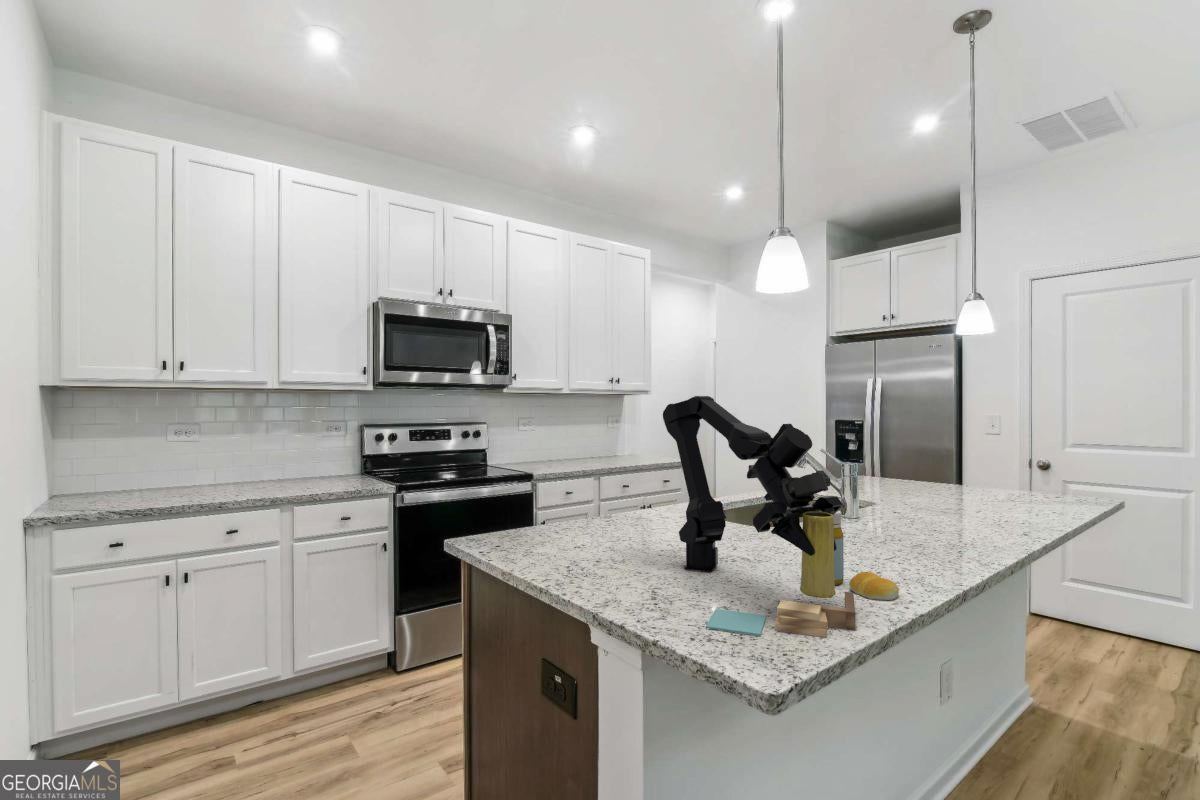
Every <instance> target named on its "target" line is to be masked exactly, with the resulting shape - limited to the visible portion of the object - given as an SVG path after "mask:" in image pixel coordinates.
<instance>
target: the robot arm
mask: <svg viewBox="0 0 1200 800" xmlns="http://www.w3.org/2000/svg"><path fill="white" fill-rule="evenodd" d="M662 419H663V423H664V426H665V428H666V431H667V433H668V434H669V435H670V436H671V437H672V438H673V439H674V440H675V443H676V446H677V451H678V454H679V459H680V463H681V464H680V465H681V469H682V473H683V476H684V477H683V478H684V480H685V486H686V490H687V495H688V504H687V507H686V511H685V517H686V521H685V522H684V524H683V526H682V527H681V529H680V530H679V531H678V536H679V541H680V542H681V543H682V542H683V543H684V544H685V566H684V567H683V569H684V570H687V571H698V572H708V573H713V572H714V570H715V568H717V566H718V564H719V548H718V547H717V546H716V542H721V541H722V538H723V535H724V531H725V529H726V525H727V523H726V519H727V516H726V514H725V512H724V506H723V503H722V501H721V500H715V498H713V496H712V495H711V491H710V486H709V483H708V479H707V476H706V470H705V466H704V462H703V461H704V460H703V458H702V454H701V450H700V445H699V441H698V433H699V430H700V427H701V420H704V422H706V423H707V424H708V425H710V426H711V427H712V428H713V429H714V430H716V431H717V432H718V433H719V434H721V435H722V436H723V437H724V438H725V439H726V440H727V443H728V448H729V449H730V450H731V452H733V454H734V455H735V456H736V457H737V458H738V459H739V460H741V461H749V460H752V461H753V460H756V461H755V462H754V463H753V464H750V465H748V471H747V472H746V478H747V480H748V479H757V480H758V481H759V483H760V484H761V486H762V488H763V489H764V490H765V492H766V494H765V495H764V496H763V497H764V499H765V501H766V502H767V503H764V504H763V505H762V507H761V508H760V509H759V510H758V511H757V512H756V513H755V514H754V516H753V517H752V525H753V527H754V528H755V530H756V531H757V533H758V534H759V533H765V532H769V531H770V533H771V534H772V535H776V536H778V537H780V538H782V539H783V540H785V541H786V542H788V543H790V544H792V545H793V546H795V547H796V548H797V549H799V550H801V552H802V551H804V552H805V553H807V554H808V555H810V556H812V555H813V554H815V551H814V549H813V547H812V545H811V543H810V541H809V540H808V538H807V536H806V534H805V533H804V531H803V527H802V525H801V523H800V518H803V513H804V512H809V511H817V512H826V513H830V514H832V515H834V514H835V513H836V512H837V511H840V509H841V508H842V507H843V506H844V505H843V503H842V501H841V500H840V498H839V497H838V496H835V495H825V496H819V497H818V498H817V499H816V500H815V502H813V500H814V499H815V498H816V496H815V495H817V494H819V493H821V492H827V491H829V487H830V486H831V478H830V477H829V475H828V474H827V473H826V472H825V471H824V470H816V471H815V472H811V473H809V474H806V475H802V476H800V477H797V476H796V477H795V476H794V477H793V476H792V475H791V474H790V472H789V471H788V469H792V468H795V467H796V465H797V464H799V462H800V461H801V460H802V459H803V457H805V455H806V454H807V453H808V452H809V451H810V450H811V449H812V447H813V441H812V438H810V436H809V435H808V434H807V433H805V432H804V431H802V430H801V429H799V428H796V427H794V426H793V424H792V423H783V424H781V425H780V427H779V429H778V431H777V432H776V434H775V435H774V436H773V437H772V436H771V434H769V433H768V432H767V431H765V430H762V429H761V428H759V427H756V426H754V425H749V424H746V423H745V422H742V421H741V420H740V419H738V418H737V417H735V415H733V414H732V413H731V412H729V410H726V408H724V407H723V406H722V405H720V404H719V403H718V402H716V401H715V399H714V398H713V397H711V396H710V395H694V396H693V397H690V398H688V399H686V400H683V401H679V402H676V403H668V404H667V405H666V407H665V409H663V411H662ZM787 468H788V469H787ZM769 501H772V502H769ZM810 502H813V503H812V504H810ZM770 522H772V525H771V523H770ZM772 526H773V528H772V530H771V527H772ZM836 549H837V547H836V543H835V540H834V551H835V550H836Z"/></svg>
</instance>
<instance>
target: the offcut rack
mask: <svg viewBox="0 0 1200 800" xmlns="http://www.w3.org/2000/svg"><path fill="white" fill-rule="evenodd" d="M776 615H777V616H776V619H775V621H774V631H777V632H784V633H789V634H790V633H792V634H796V635H797V634H798V635H806V636H810V637H811V636H812V637H819V638H827V630H828V628H835V629H844V630H850V631H856V605H855V594H854V592H853V591H851V592H850V591H844V607H839V606H838V607H836V606H830V605H829V606H827V605H821V604H812V603H807V602H805V603H804V602H798V601H790V600H784V599H781V600H778V601H777V607H776Z"/></svg>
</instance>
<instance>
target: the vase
mask: <svg viewBox="0 0 1200 800" xmlns="http://www.w3.org/2000/svg"><path fill="white" fill-rule="evenodd" d="M802 529H803V531H804V533H805V534H806V536H807V538H808V540H809V541H810V543H811V545H812V547H813V549H814V551H815V554H813V555H812V556H810V555H808V554H807V553H805V552H804V551H802V550H801V573H800V574H801V578H800V586H799V591H800V593H802V594H803V595H805V596H808V597H813V598H819V599H820V598H821V599H827V598H833V597H834V596H836V594H837V593H836V590H835V589H836V588H835V585H834V580H835V570H834V519H833V515H832V514H830V513H826V512H817V511H809V512H804V513H803V517H802Z"/></svg>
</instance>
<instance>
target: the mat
mask: <svg viewBox="0 0 1200 800" xmlns="http://www.w3.org/2000/svg"><path fill="white" fill-rule="evenodd" d="M766 620H767V614H761V613H760V614H759V613H752V612H745V611H744V612H743V611H736V610H731V609H721V608H715V610H714V611H713V613H712V614H711V616H710V618H709V620H708V622H707V623H706V625H705V629H706V628H710V629H709V630H712V629H718V630H717V631H719V630H723V631H722V632H726V631H729V632H728V633H733V632H735V633H734V634H740V633H741V634H742V635H747V636H755V637H761V635H762V633H763V629H764V627H765V624H766ZM741 634H740V635H741Z"/></svg>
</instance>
